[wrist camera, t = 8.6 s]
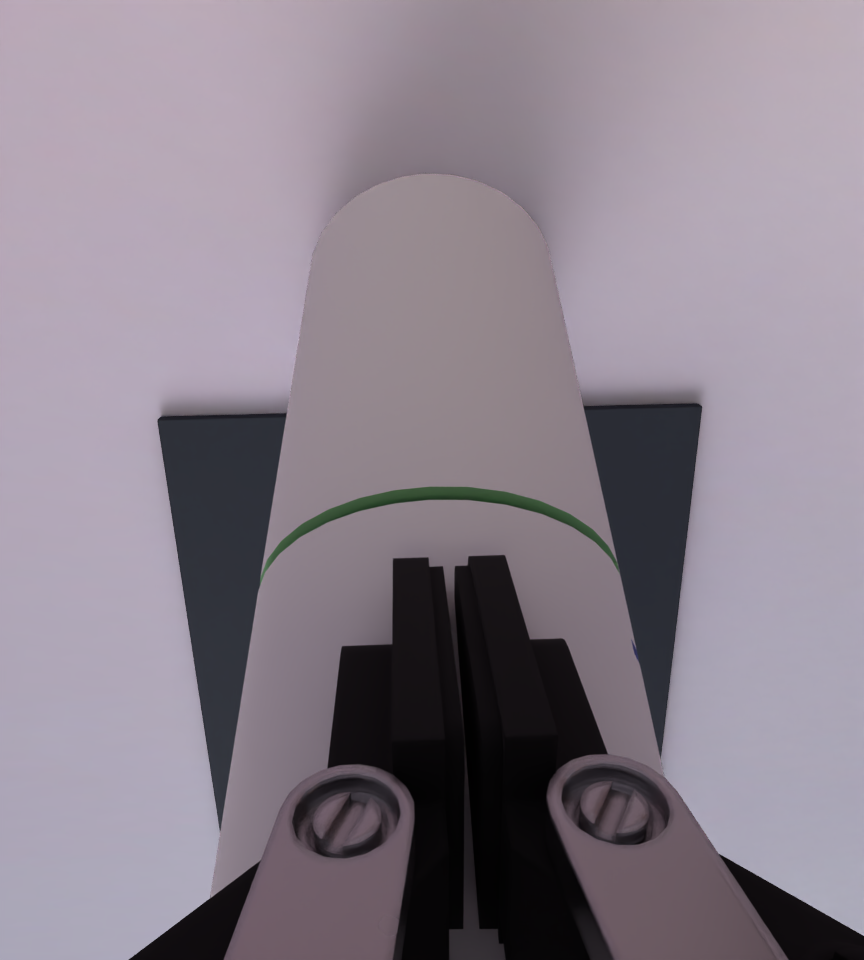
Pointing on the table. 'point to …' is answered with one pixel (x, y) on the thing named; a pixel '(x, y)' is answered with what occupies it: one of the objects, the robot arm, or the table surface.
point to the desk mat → (247, 508)
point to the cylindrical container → (425, 485)
